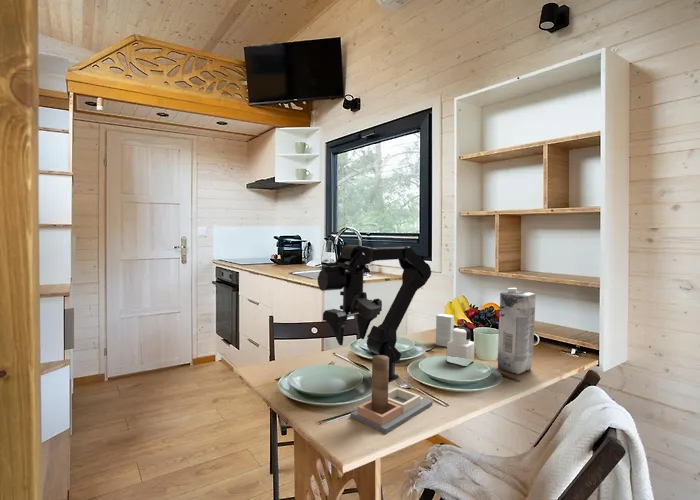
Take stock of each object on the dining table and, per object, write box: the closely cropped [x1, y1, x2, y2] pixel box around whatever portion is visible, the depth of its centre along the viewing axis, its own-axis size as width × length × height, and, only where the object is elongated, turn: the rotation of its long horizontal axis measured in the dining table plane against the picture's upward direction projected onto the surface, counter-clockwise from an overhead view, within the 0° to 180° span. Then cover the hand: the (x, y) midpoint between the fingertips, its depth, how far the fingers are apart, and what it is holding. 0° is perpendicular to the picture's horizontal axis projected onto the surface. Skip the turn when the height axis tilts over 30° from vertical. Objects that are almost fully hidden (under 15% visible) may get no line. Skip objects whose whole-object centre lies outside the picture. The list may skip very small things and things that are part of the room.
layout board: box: [350, 386, 434, 434], centre depth 101 cm, size 20×11×3 cm, turn 137°
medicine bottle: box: [446, 326, 475, 361], centre depth 138 cm, size 7×7×12 cm
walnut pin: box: [370, 355, 389, 415], centre depth 97 cm, size 4×4×14 cm
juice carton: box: [497, 287, 537, 375], centre depth 132 cm, size 9×10×27 cm
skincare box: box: [435, 313, 455, 348], centre depth 158 cm, size 6×4×12 cm
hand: (351, 341), depth 115 cm, fingers open, 9 cm apart
